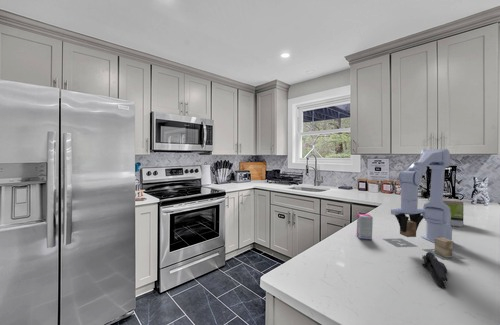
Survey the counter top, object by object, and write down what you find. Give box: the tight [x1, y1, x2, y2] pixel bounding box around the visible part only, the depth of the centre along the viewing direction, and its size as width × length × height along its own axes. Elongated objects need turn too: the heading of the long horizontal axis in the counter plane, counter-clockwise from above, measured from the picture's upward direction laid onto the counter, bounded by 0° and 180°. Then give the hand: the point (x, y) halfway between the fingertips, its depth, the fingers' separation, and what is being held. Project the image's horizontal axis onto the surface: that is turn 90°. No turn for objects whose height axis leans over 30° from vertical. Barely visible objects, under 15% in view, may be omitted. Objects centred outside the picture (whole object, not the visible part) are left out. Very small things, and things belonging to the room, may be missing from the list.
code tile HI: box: [422, 248, 466, 261], centre depth 93 cm, size 10×10×1 cm
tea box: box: [428, 197, 464, 228], centre depth 137 cm, size 15×10×15 cm, turn 58°
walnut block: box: [399, 219, 417, 238], centre depth 95 cm, size 4×4×6 cm
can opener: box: [421, 252, 449, 289], centre depth 76 cm, size 18×7×6 cm, turn 149°
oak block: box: [434, 238, 454, 256], centre depth 93 cm, size 4×4×6 cm
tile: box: [382, 237, 418, 248], centre depth 105 cm, size 10×10×1 cm
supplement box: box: [356, 213, 374, 241], centre depth 111 cm, size 6×6×12 cm
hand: (408, 231), depth 95 cm, fingers closed on walnut block, 4 cm apart
